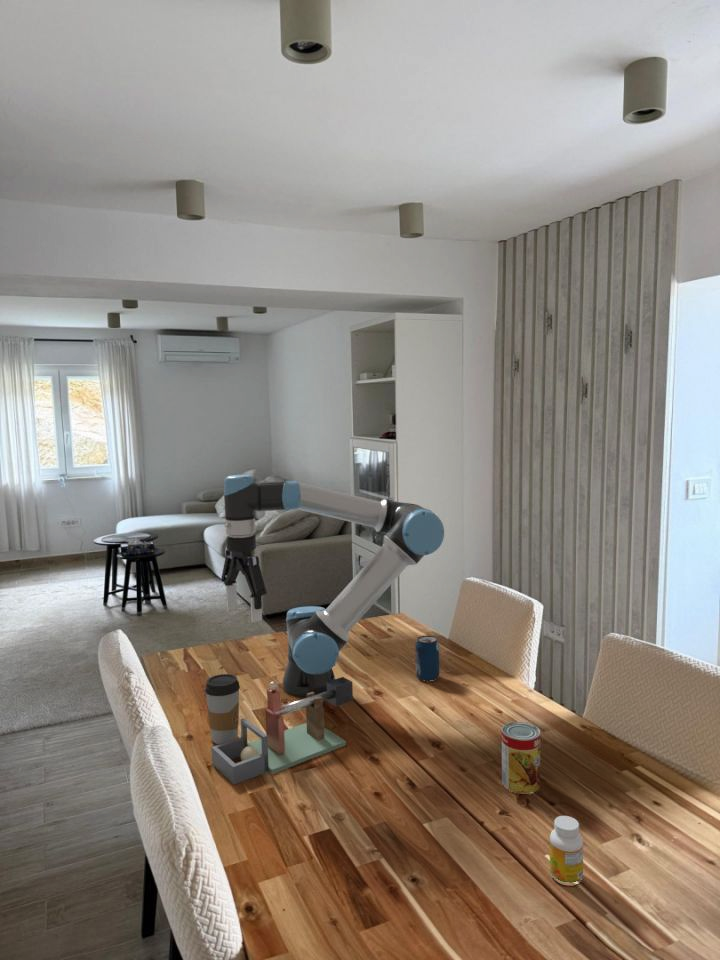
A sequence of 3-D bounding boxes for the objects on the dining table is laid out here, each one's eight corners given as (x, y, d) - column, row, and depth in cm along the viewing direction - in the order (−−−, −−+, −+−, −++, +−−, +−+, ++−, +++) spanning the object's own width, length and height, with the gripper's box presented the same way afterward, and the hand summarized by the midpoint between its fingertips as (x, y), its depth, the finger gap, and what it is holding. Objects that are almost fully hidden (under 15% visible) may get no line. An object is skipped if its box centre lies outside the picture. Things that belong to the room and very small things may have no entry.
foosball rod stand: (341, 717, 171) (340, 656, 169) (355, 726, 166) (354, 663, 165) (265, 745, 158) (262, 678, 156) (278, 755, 153) (275, 687, 151)
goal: (245, 751, 158) (244, 718, 157) (268, 771, 149) (267, 735, 148) (212, 763, 153) (210, 729, 152) (234, 784, 144) (232, 748, 143)
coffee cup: (234, 748, 159) (231, 688, 158) (201, 745, 161) (198, 685, 160) (247, 731, 168) (244, 674, 166) (215, 729, 169) (213, 672, 168)
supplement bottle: (544, 866, 116) (545, 814, 115) (575, 864, 117) (575, 811, 116) (556, 888, 111) (557, 833, 110) (588, 886, 111) (588, 831, 110)
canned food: (546, 792, 138) (546, 737, 137) (510, 797, 137) (510, 741, 136) (530, 772, 146) (530, 719, 145) (496, 776, 145) (496, 723, 144)
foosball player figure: (313, 734, 165) (311, 691, 164) (324, 742, 162) (323, 697, 160) (307, 736, 164) (305, 693, 163) (318, 744, 160) (316, 700, 159)
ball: (237, 746, 152) (237, 763, 153) (245, 753, 149) (245, 770, 150) (253, 741, 155) (253, 757, 155) (261, 748, 152) (261, 765, 152)
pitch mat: (313, 724, 171) (313, 720, 171) (345, 745, 160) (345, 741, 160) (242, 749, 159) (242, 745, 159) (272, 774, 148) (272, 769, 148)
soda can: (443, 676, 199) (442, 637, 198) (433, 684, 194) (432, 644, 192) (422, 671, 203) (421, 633, 202) (411, 679, 197) (411, 640, 196)
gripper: (206, 530, 181) (210, 607, 183) (251, 543, 161) (254, 629, 163) (231, 527, 185) (235, 601, 188) (278, 539, 166) (281, 623, 168)
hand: (244, 614), depth 175 cm, fingers open, 13 cm apart
